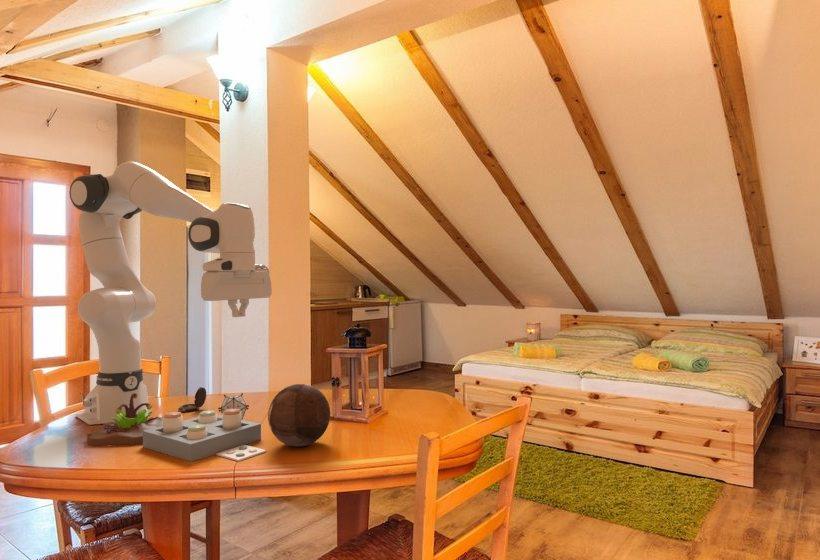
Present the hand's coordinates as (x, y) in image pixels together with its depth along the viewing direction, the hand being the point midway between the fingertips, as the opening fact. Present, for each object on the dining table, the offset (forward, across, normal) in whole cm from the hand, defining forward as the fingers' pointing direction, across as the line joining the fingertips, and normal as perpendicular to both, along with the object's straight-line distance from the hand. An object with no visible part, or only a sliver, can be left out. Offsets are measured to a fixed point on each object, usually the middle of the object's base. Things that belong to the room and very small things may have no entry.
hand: (238, 316), depth 146 cm
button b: (+31, +5, -7) cm, 32 cm away
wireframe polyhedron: (+31, -7, -12) cm, 34 cm away
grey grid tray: (+31, +10, -2) cm, 33 cm away
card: (+31, +10, +13) cm, 35 cm away
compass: (+31, -8, -35) cm, 48 cm away
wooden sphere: (+31, -2, +20) cm, 37 cm away
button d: (+29, +5, +3) cm, 29 cm away
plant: (+32, +15, -25) cm, 43 cm away
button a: (+29, +15, -7) cm, 33 cm away
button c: (+31, +15, +3) cm, 34 cm away
